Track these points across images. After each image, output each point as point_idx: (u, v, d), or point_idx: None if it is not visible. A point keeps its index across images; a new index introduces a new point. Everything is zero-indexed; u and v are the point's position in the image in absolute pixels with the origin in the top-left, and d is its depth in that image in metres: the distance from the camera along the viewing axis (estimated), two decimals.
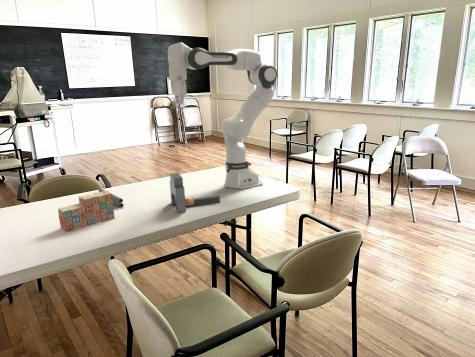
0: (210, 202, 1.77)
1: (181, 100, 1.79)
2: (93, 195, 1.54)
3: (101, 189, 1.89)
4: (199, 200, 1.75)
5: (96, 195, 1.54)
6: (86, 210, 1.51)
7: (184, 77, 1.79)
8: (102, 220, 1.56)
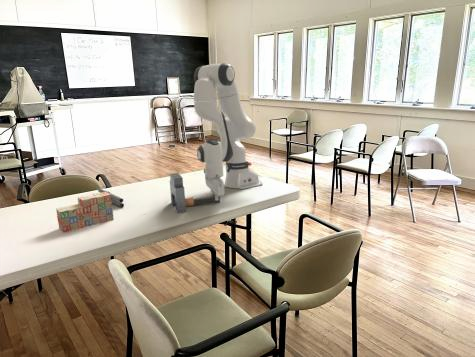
0: (210, 202, 1.77)
1: (216, 196, 1.76)
2: (92, 196, 1.53)
3: (101, 189, 1.89)
4: (199, 200, 1.75)
5: (95, 196, 1.53)
6: (84, 211, 1.50)
7: (221, 174, 1.73)
8: (101, 221, 1.55)
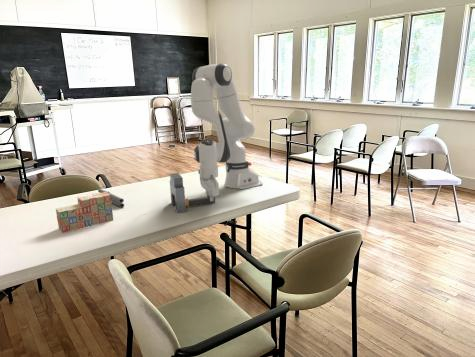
0: (205, 203, 1.76)
1: (211, 197, 1.74)
2: (92, 196, 1.53)
3: (101, 189, 1.89)
4: (194, 201, 1.73)
5: (94, 196, 1.53)
6: (83, 211, 1.49)
7: (216, 175, 1.72)
8: (100, 222, 1.55)
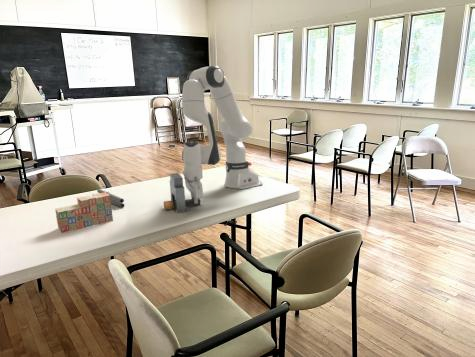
0: (190, 205, 1.73)
1: (195, 199, 1.72)
2: (91, 196, 1.52)
3: (100, 190, 1.88)
4: None
5: (94, 196, 1.52)
6: (83, 212, 1.49)
7: (200, 177, 1.69)
8: (100, 222, 1.54)
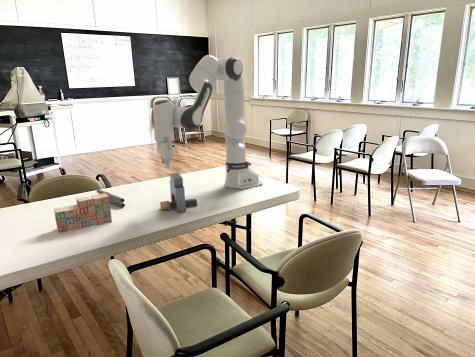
0: (187, 205, 1.73)
1: (167, 164, 1.59)
2: (90, 197, 1.52)
3: (99, 190, 1.88)
4: None
5: (93, 197, 1.51)
6: (81, 212, 1.48)
7: (171, 138, 1.59)
8: (98, 223, 1.53)
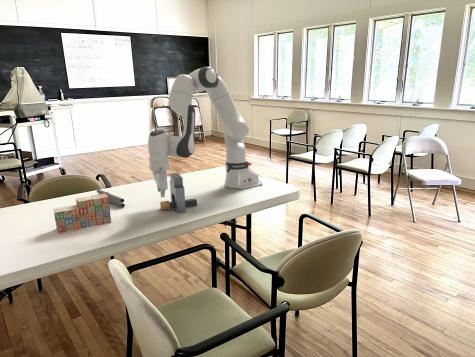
0: (187, 205, 1.73)
1: (162, 193, 1.63)
2: (89, 197, 1.51)
3: (99, 190, 1.88)
4: None
5: (92, 198, 1.51)
6: (80, 213, 1.48)
7: (166, 168, 1.63)
8: (97, 223, 1.53)
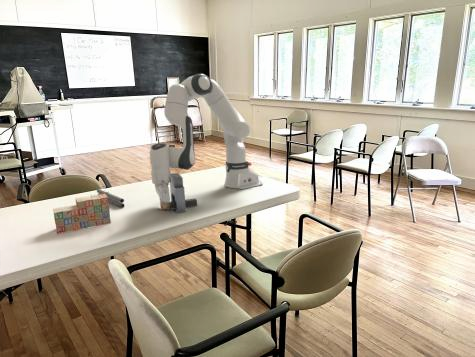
0: (187, 205, 1.73)
1: (164, 204, 1.66)
2: (89, 198, 1.51)
3: (100, 190, 1.88)
4: None
5: (91, 198, 1.50)
6: (79, 213, 1.48)
7: (168, 180, 1.64)
8: (97, 224, 1.52)
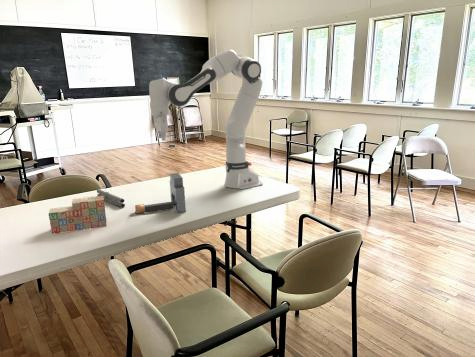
0: (163, 209, 1.69)
1: (163, 136, 1.74)
2: (85, 199, 1.49)
3: (99, 190, 1.88)
4: (151, 207, 1.67)
5: (87, 200, 1.48)
6: (74, 214, 1.46)
7: (166, 113, 1.74)
8: (92, 226, 1.50)
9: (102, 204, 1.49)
